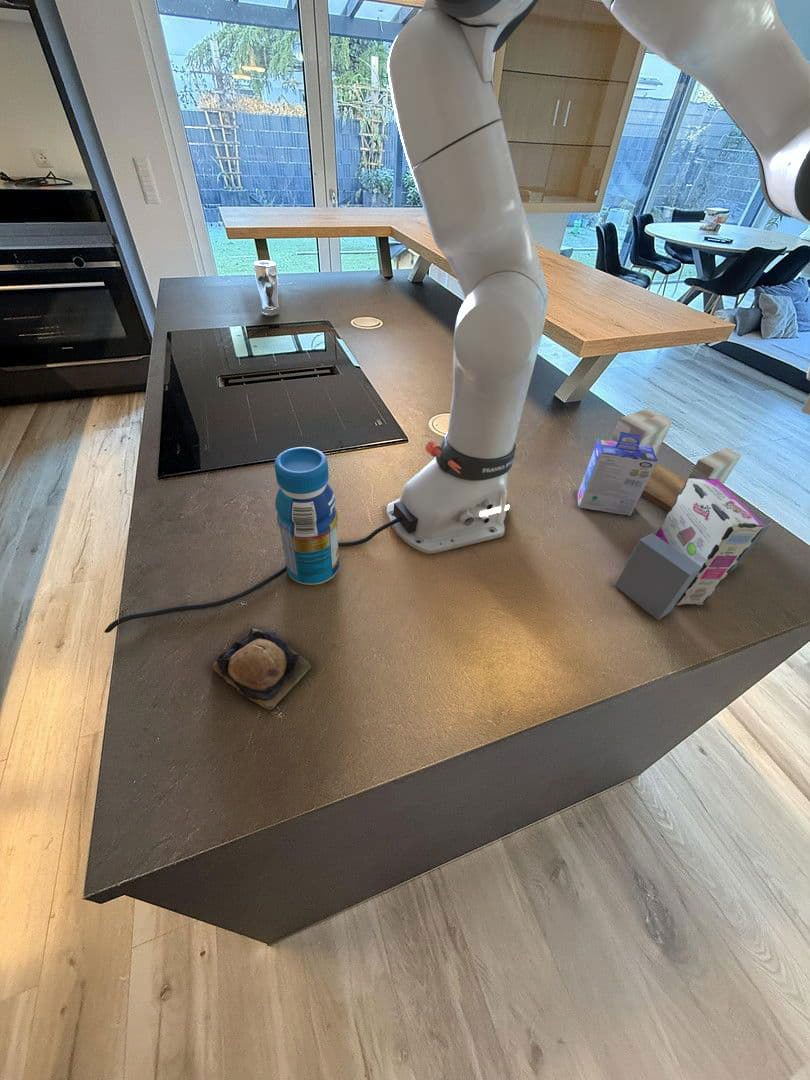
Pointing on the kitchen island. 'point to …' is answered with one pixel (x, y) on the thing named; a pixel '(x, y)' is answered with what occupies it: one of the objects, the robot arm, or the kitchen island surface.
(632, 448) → the ink cartridge box
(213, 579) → the kitchen island surface
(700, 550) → the candy bar box
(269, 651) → the potato on dark dish
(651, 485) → the wooden bookend rack
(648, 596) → the grey blocks
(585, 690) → the kitchen island surface
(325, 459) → the beverage bottle
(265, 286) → the beer glass
